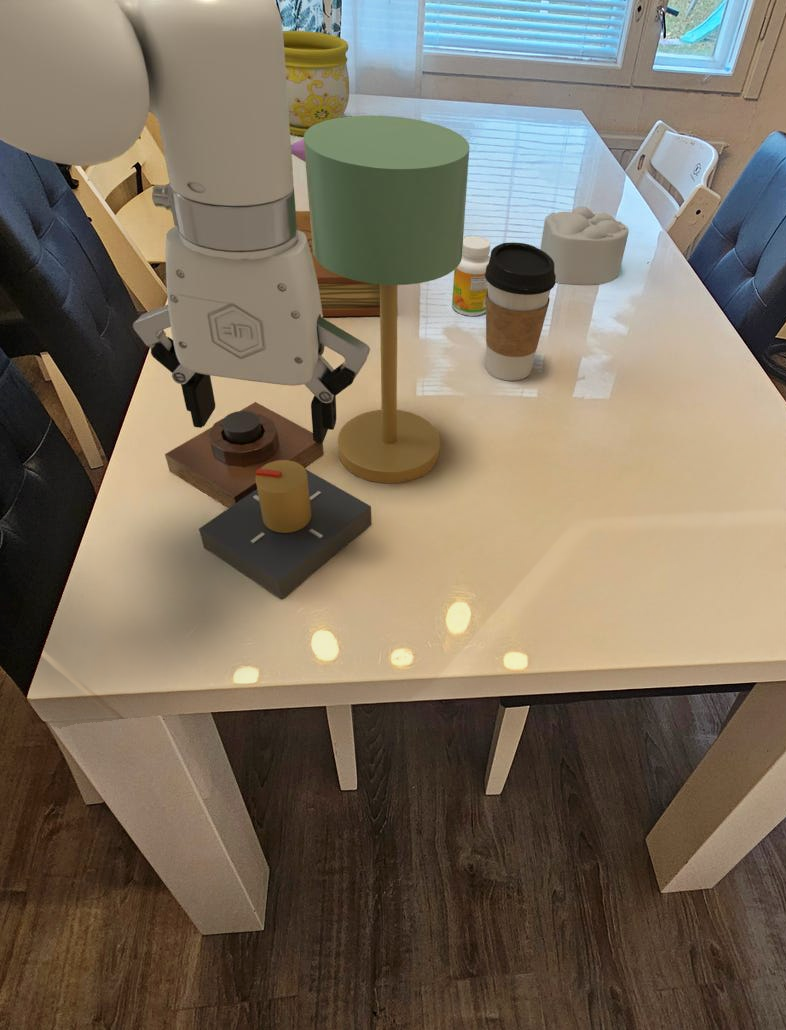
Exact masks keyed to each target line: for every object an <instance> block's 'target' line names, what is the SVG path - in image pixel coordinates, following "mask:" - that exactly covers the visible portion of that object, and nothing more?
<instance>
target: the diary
mask: <svg viewBox="0 0 786 1030" xmlns="http://www.w3.org/2000/svg"><path fill="white" fill-rule="evenodd" d="M296 223H297V230H298V231H301V232H303V233H304V234H305V235H306V238H307V241H308V244H309V248H310V251H311V255H312V259H313V263H314V268H315V272H316V276H317V282H318V287H319V293H320V299H321V306H322V314H323V317H356V316H357V317H359V316H364V317H365V316H380V284H372V283H365V282H360V281H356V280H352V279H349V278H345V277H343V276H340V275H337V274H335V273H333V272H331V271H329V270H328V269H326V268H325V267H323V266H322V265H321V264H320V263H319V262H318V261H317V260H316V258H315V256H314V254H313V248H312V236H311V223H310V211H309V210H296Z"/></svg>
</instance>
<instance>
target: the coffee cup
mask: <svg viewBox="0 0 786 1030" xmlns="http://www.w3.org/2000/svg"><path fill="white" fill-rule="evenodd" d="M489 257H490V260H489V264H488V265H487V267H486V272H485V278H486V280H487V281H488V289H487V291H486V312H485V343H486V344H485V345H486V346H485V347H486V348H485V351H486V352H485V369H486V370H487V372H488V373H489V374H490V375H491V376H492V377H495V378H497V379H499V380H503V381H512V382H514V381H515V382H516V381H520V380H525V378H527V377H529V376H530V374H531V373H532V368H533V365H534V361H535V357H536V353H537V350H538V345H539V342H540V338H541V334H542V331H543V326H544V323H545V319H546V317H547V311H548V310H549V309H548V308H549V304H550V299H551V298H550V294H551V290H553V288H554V287H555V286H556V283H557V282H556V281H555V280H556V275H555V273H554V261H553V260H552V258H551V257H550V256H549V255H548V254H546V253H545V252H543V251H542V250H540V248H538V247H536V246H535V245H531V244H528V243H524V242H503V243H500V244H498V245H496V246H494V247H493V248H492V249H491V250H490V254H489Z"/></svg>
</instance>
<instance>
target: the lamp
mask: <svg viewBox="0 0 786 1030" xmlns="http://www.w3.org/2000/svg"><path fill="white" fill-rule="evenodd" d="M303 139H304V150H305V162H304V163H305V174H306V186H307V197H308V211H310V223H311V236H312V248H313V254H314V256H315V258H316V260H317V261H318V262H319V263H320V264H321V265H322V266H323V267H325V268H326V269H328V270H329V271H331V272H333V273H335V274H337V275H340V276H343V277H345V278H349V279H352V280H356V281H360V282H365V283H372V284H380V315H379V325H380V326H379V327H380V328H379V329H380V330H379V331H380V333H379V334H380V335H379V336H380V398H381V401H380V402H381V404H380V405H381V409H376V410H371V411H366V412H363V413H361V414H359V415H356V416H354V417H352V418H350V419H349V420H348V421H347V422H346V423H345V424H344V425H343V426H342V428H341V429H340V431H339V433H338V436H337V448H338V449H337V451H338V457H339V459H340V462H341V463H342V465H343V466H344V467H345V468H346V469H347V471H349V472H350V473H351V474H353V475H354V476H356V477H358V478H360V479H363V480H366V481H368V482H374V483H378V484H379V483H380V484H401V483H406V482H409V481H413V480H416V479H418V478H420V477H423V476H424V475H426V474H427V473H429V472H430V471H431V470H432V469H433V468H434V467H435V465H437V463H438V460H439V457H440V447H441V439H440V438H441V437H440V435H439V432H438V430H437V429H436V427H435V426H434V425H433V424H432V423H431V422H430V421H429V420H427V419H426V418H425V417H422V416H420V415H419V414H416V413H413V412H410V411H406V410H401V409H398V286H407V285H417V284H422V283H427V282H431V281H435V280H438V279H441V278H443V277H445V276H447V275H449V274H451V273H452V272H454V270H455V269H456V268H457V267H458V265H459V264H460V262H461V259H462V248H463V238H464V234H465V233H464V231H465V219H466V218H465V217H466V203H467V202H466V201H467V190H468V189H467V188H468V173H469V159H470V144H469V141H468V140H467V139H466V138H465V137H464V136H462V135H461V134H460V133H458V132H456V131H455V130H452V129H450V128H447V127H446V126H443V125H439V124H436V123H433V122H429V121H425V120H420V119H414V118H410V117H409V118H408V117H403V116H402V117H401V116H393V115H350V116H342V117H341V118H335V119H331V120H326V121H323V122H320V123H318V124H315V125H313V126H312V127H310V128H309V129H308V130H307V131H306V132H305V134H304V136H303Z"/></svg>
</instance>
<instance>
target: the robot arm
mask: <svg viewBox="0 0 786 1030" xmlns="http://www.w3.org/2000/svg"><path fill="white" fill-rule="evenodd" d="M282 23H283V22H282V17H281V13H280V11H279V8H278V6H277V4H276V2H275V1H274V0H0V141H1V142H3V143H5V144H7V145H10V146H11V147H13V148H16V149H18V150H20V151H22V152H25V153H27V154H29V155H32V156H35V157H37V158H40V159H44V160H46V161H50V162H52V163H57V164H61V165H68V166H75V167H87V166H88V167H89V166H91V167H92V166H97V165H101V164H105V163H109V162H112V161H113V160H115V159H117V158H119V157H121V156H123V155H124V154H125V153H127V152H128V151H129V150H130V149H131V148H132V147H134V145H135V144H136V143H137V141H138V139H139V138H140V137H141V135H142V134H143V131H144V129H145V127H146V124H147V120H148V117H149V113H151V114H152V115H153V116H154V117H155V118H156V121H157V124H158V127H159V133H160V139H161V145H162V150H163V156H164V161H165V165H166V171H167V176H168V183H166V184H165V185H161V184H154V185H153V187H152V190H151V199H152V203H153V205H154V206H155V207H157V208H162V209H163V208H165V209H166V211H170V212H171V214H172V219H173V225H174V226H173V227H172V228H171V229H169V230H168V231H167V233H166V235H165V236H166V237H165V277H166V278H165V279H166V280H165V282H166V293H167V294H166V296H167V298H166V299H167V304H165V305H162V306H160V307H157V308H155V309H152V310H149V311H147V312H144V313H142V314H141V315H139V316H138V317H137V318H136V320H135V321H134V322H133V323H132V329H133V330H134V331H135V333H136V334H137V335H138V337H139V338H140V339H141V340H142V342H143V343H144V344H145V346H146V347H148V348H149V349H150V354H151V356H152V357H153V359H154V360H156V361H157V362H158V363H160V365H162V366H163V367H164V368H165V369H167V370H168V371H169V372H170V373H171V378H172V380H173V381H174V382H175V383H176V384H178V385H180V386H181V391H182V395H183V400H184V404H185V409H186V411H187V412H190V416H191V421H192V425H193V428H199V429H202V428H203V427H205V426H206V425H207V422H208V421H209V420H210V418H211V416H212V415H213V414H214V413H213V412H214V411H215V409H216V400H215V395H214V389H213V383H212V379H211V376H212V377H219V378H224V379H225V378H226V379H232V380H233V379H234V380H241V381H249V382H257V383H263V384H273V385H280V386H293V387H294V386H295V387H296V386H303V385H304V386H305V387H306V388H307V389H308V390H309V391H310V392H311V393H312V394H313V395H314V396H313V398H312V400H311V402H310V413H311V425H312V427H311V428H312V433H313V441H315V442H316V443H323V444H324V441H325V438H326V436H327V433H328V431H329V430H332V431H334V429H335V427H336V424H337V397H336V396H338V395H339V394H340V393H342V392H343V391H344V390H346V389H347V388H348V387H350V386H351V385H352V384H353V383H354V380H355V379H356V377H357V375H358V374H359V373H360V372H361V370H362V368H363V367H364V365H365V364H366V362H367V360H368V357H369V354H370V351H371V348H370V346H369V345H368V344H367V343H366V342H364V341H362V340H360V339H359V338H357V337H355V336H354V335H352V334H350V333H348V332H347V331H345V330H344V329H342V328H340V327H338V326H337V325H335V324H334V323H332V322H330V321H329V320H327V319H325V318H324V316H323V314H322V306H321V299H320V293H319V287H318V282H317V276H316V272H315V268H314V263H313V259H312V255H311V251H310V248H309V244H308V241H307V238H306V235H305V234H304V233H303V232H301V231H298V230H297V223H296V211H297V210H296V197H295V195H296V194H295V186H294V173H293V172H294V169H293V167H294V166H293V154H292V153H291V145H292V141H291V133H290V125H289V111H288V97H287V83H286V68H285V54H284V40H283V31H284V30H283V24H282ZM169 328H170V331H171V337H172V338H170V337H169V336H167V333H166V331H165V330H166V329H169ZM325 348H328V349H330V350H332V352H335V353H337V354H338V355H340V356H342V357H343V358H344V362H342V363H341V364H339V365H338V366H337V367H335V369H334V368H333V366H332V365H331V364H330V363H329V362H328V361H327V359H325V358H324V356H323V354H324V352H325Z"/></svg>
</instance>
